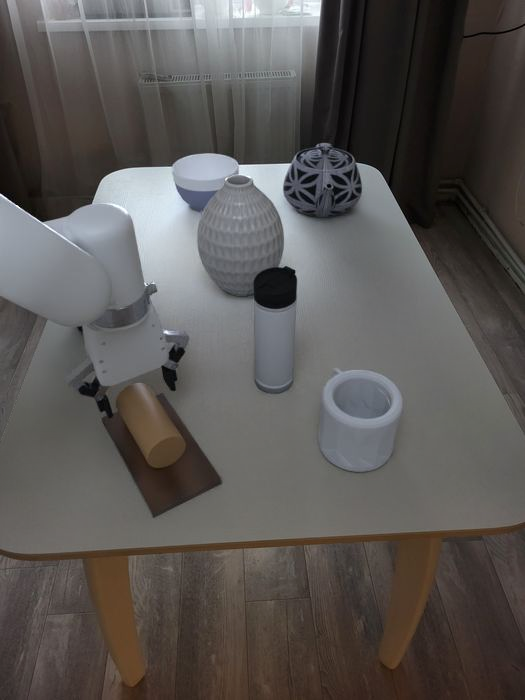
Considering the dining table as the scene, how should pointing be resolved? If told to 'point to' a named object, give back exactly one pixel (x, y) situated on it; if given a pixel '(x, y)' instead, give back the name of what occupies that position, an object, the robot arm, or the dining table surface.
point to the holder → (168, 482)
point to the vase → (239, 235)
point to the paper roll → (150, 425)
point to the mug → (359, 419)
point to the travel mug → (274, 328)
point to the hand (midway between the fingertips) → (139, 398)
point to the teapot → (323, 181)
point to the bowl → (202, 177)
